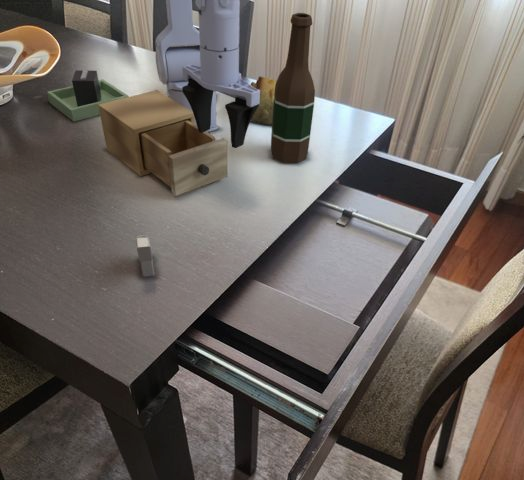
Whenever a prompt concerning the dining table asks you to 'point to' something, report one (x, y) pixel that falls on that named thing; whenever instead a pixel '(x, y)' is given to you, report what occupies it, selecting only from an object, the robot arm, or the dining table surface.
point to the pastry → (264, 100)
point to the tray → (68, 105)
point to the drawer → (183, 156)
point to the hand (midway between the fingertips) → (220, 138)
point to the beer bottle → (294, 97)
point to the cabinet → (137, 123)
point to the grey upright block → (145, 255)
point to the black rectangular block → (86, 87)
